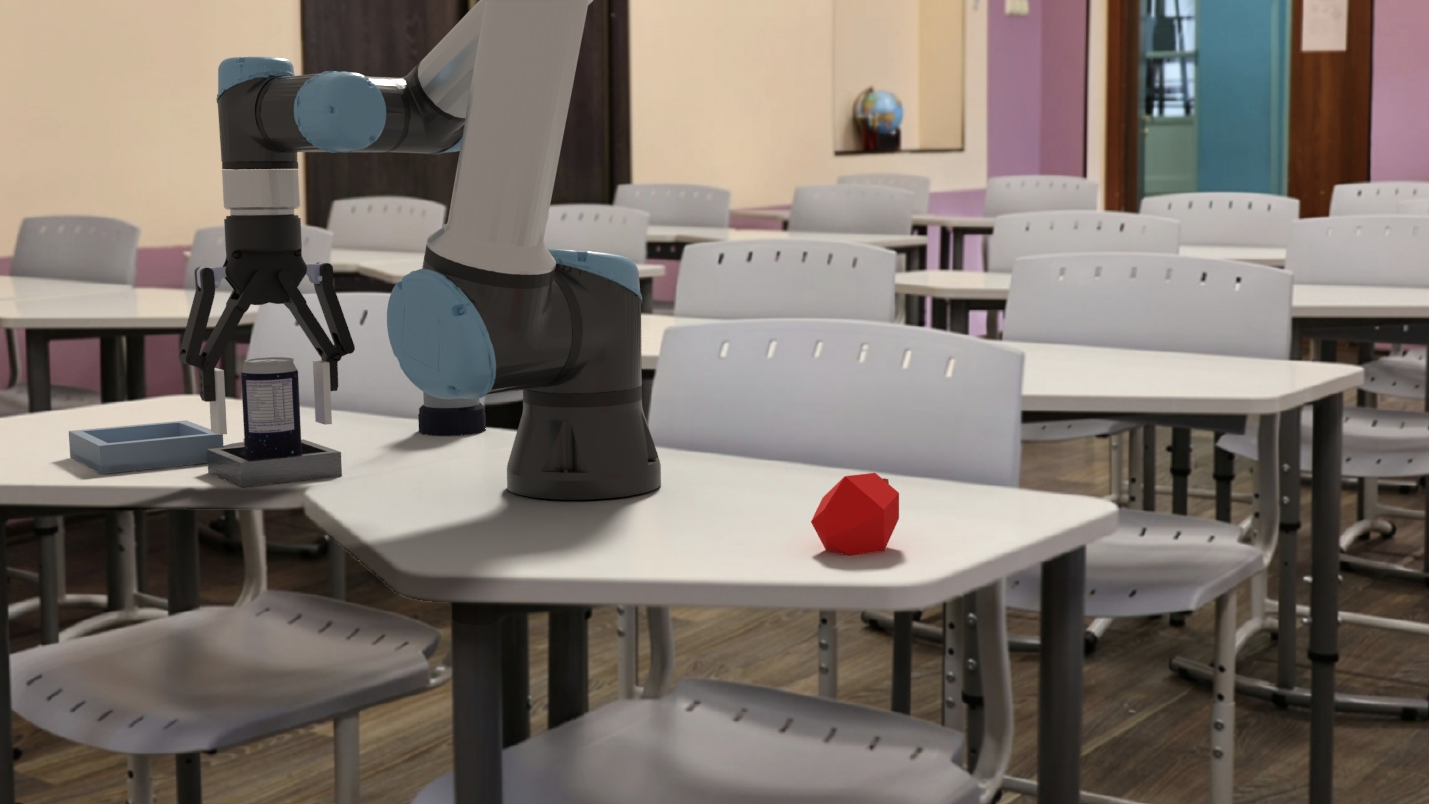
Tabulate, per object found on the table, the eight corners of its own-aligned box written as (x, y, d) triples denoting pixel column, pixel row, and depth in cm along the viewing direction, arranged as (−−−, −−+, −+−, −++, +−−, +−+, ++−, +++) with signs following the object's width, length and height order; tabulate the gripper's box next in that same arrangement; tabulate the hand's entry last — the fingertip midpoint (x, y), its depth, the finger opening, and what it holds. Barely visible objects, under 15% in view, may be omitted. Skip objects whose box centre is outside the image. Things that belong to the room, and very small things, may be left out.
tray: (224, 461, 177) (222, 433, 177) (101, 474, 170) (99, 445, 169) (187, 445, 188) (186, 420, 187) (70, 457, 180) (68, 431, 180)
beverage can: (314, 472, 169) (309, 358, 168) (274, 481, 165) (268, 363, 163) (275, 468, 172) (269, 355, 171) (234, 476, 167) (228, 361, 166)
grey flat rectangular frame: (341, 475, 167) (340, 450, 167) (241, 487, 161) (240, 461, 161) (282, 454, 181) (281, 431, 181) (188, 464, 175) (187, 440, 175)
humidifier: (464, 423, 203) (458, 223, 200) (498, 431, 197) (493, 223, 193) (406, 430, 198) (398, 224, 195) (439, 438, 192) (432, 225, 188)
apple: (836, 497, 126) (903, 449, 130) (783, 500, 131) (848, 454, 136) (871, 574, 127) (935, 524, 132) (817, 574, 133) (880, 526, 137)
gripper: (354, 210, 174) (362, 413, 177) (136, 214, 161) (149, 434, 164) (382, 211, 168) (390, 421, 171) (158, 215, 155) (171, 443, 158)
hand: (272, 427), depth 168 cm, fingers open, 10 cm apart
